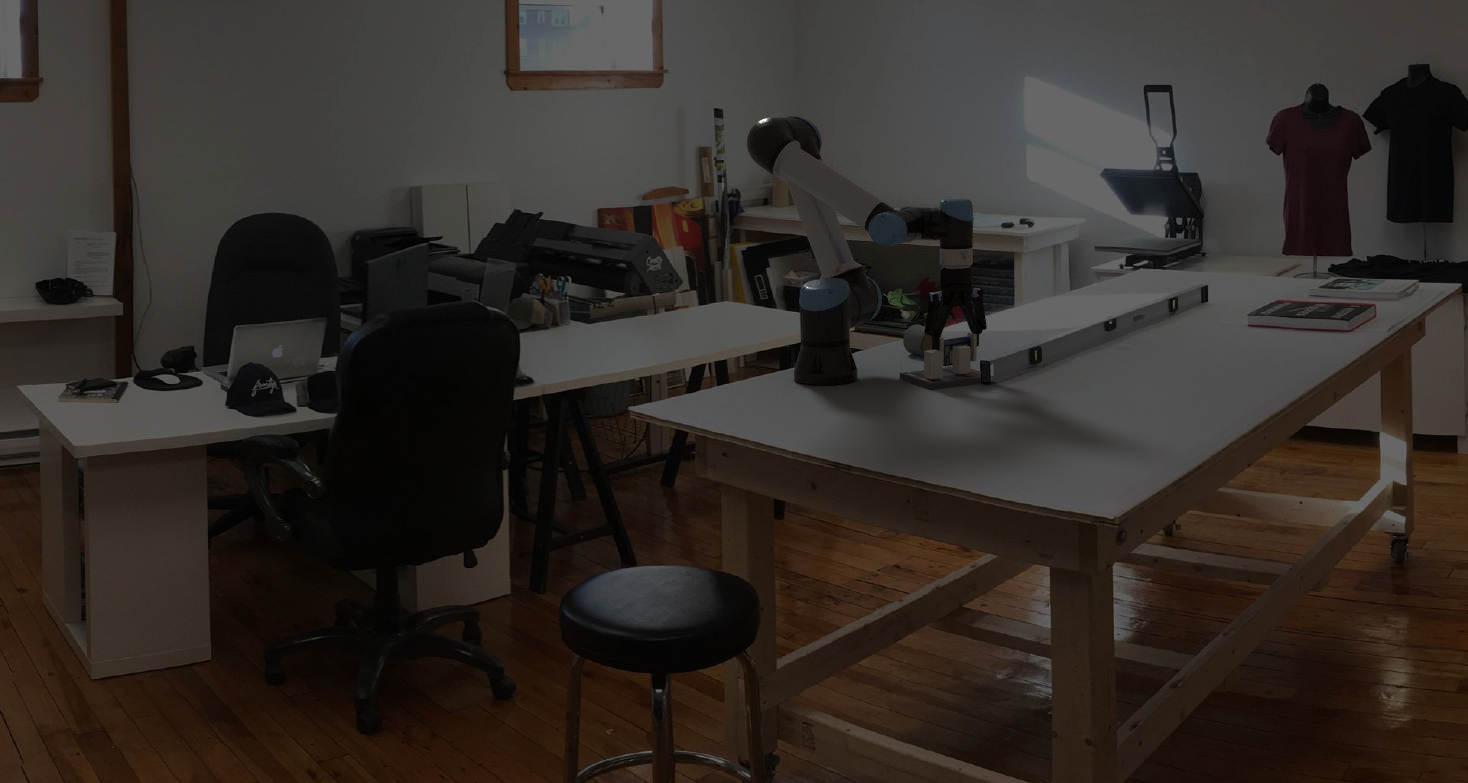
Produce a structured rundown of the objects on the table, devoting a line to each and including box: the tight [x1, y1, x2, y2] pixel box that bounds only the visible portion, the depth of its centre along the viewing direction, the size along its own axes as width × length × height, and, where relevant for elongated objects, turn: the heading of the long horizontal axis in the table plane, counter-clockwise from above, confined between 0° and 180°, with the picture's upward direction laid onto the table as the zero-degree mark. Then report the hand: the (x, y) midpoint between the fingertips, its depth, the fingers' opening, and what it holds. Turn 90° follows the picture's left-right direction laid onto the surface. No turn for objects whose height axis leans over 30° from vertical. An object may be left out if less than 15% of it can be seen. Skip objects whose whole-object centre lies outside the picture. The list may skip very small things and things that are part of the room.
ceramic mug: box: [902, 324, 932, 358], centre depth 332 cm, size 11×8×8 cm
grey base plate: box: [899, 366, 982, 391], centre depth 301 cm, size 17×14×2 cm
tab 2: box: [951, 345, 971, 374], centre depth 300 cm, size 3×3×6 cm
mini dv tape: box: [942, 336, 972, 367], centre depth 302 cm, size 8×2×6 cm, turn 123°
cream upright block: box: [923, 350, 943, 379], centre depth 295 cm, size 3×3×6 cm
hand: (955, 362), depth 302 cm, fingers closed on mini dv tape, 8 cm apart
